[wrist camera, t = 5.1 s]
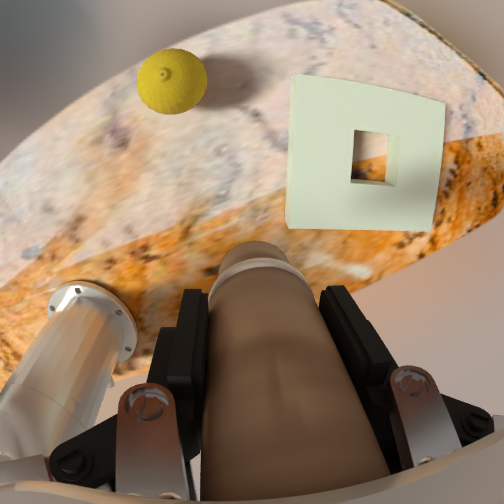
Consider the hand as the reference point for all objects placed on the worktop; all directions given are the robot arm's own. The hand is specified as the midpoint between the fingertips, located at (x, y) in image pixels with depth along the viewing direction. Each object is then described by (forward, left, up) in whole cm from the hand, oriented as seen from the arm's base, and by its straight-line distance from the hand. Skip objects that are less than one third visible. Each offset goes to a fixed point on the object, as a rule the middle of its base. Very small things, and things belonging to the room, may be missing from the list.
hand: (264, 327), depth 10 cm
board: (+4, -12, -20) cm, 24 cm away
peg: (0, 0, -4) cm, 4 cm away
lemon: (+10, +6, -21) cm, 24 cm away
